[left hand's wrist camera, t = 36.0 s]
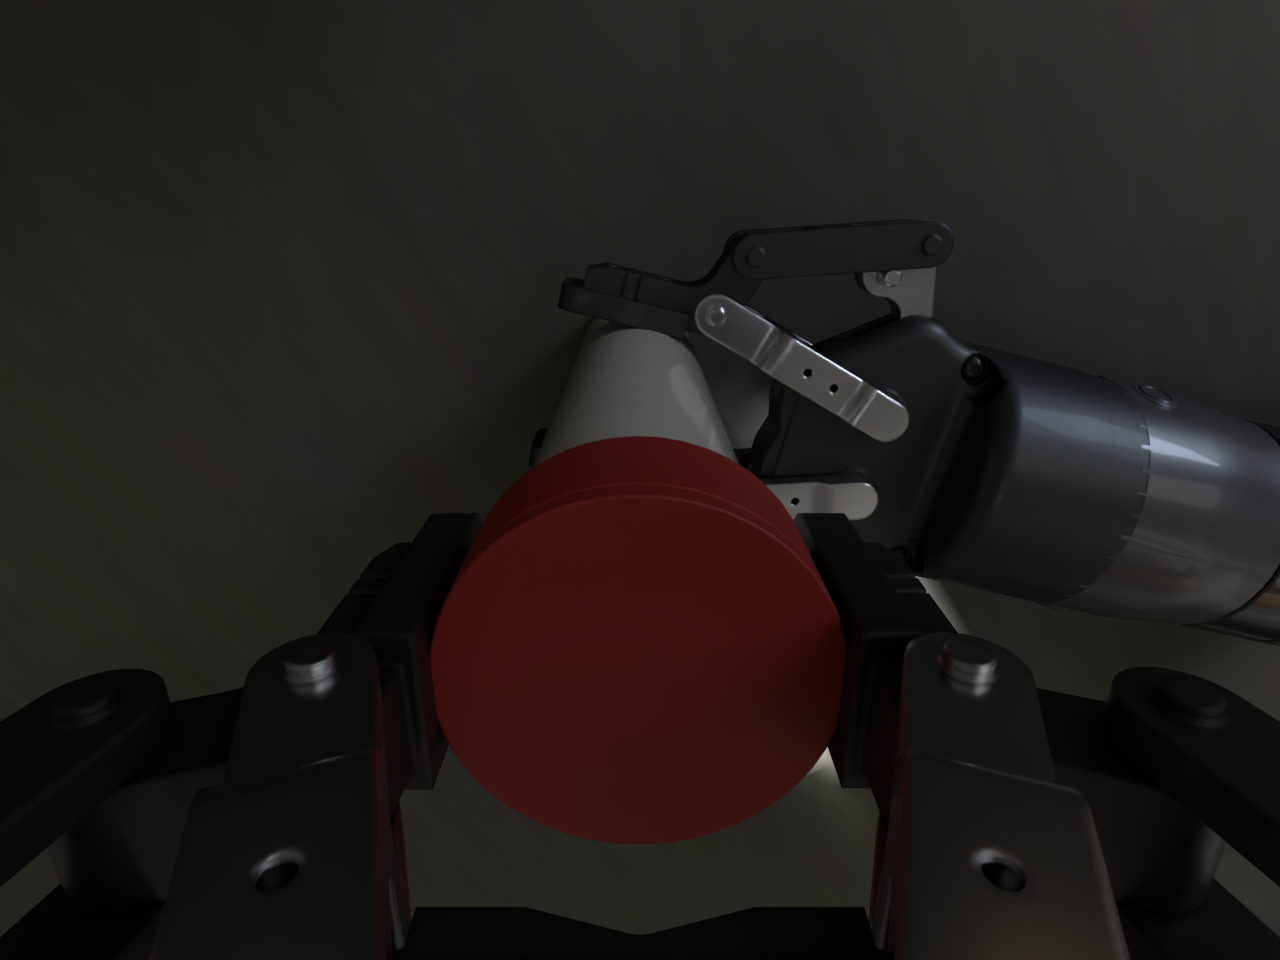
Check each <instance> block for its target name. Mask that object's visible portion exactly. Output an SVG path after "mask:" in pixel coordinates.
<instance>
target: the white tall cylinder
mask: <svg viewBox="0 0 1280 960" xmlns="http://www.w3.org/2000/svg"><path fill="white" fill-rule="evenodd" d="M629 436H648V437H663V438H668V439H674V440H680V441H685V442H688V443H692V444H695V445H698V446H701V447H705V448H708V449H710V450H712V451H714V452H716V453H719V454H721V455H723V456H725V457H727V458H729V459H731V460H733V461H734V462H736V463H737V464H739V463H738V461H737V458H736V456H735V453H734V450H733V448H732V445H731V443H730V440H729V437H728V435H727V432H726V430H725V427H724V424H723V422H722V419H721V417H720V414H719V411H718V409H717V406H716V404H715V401H714V398H713V396H712V393H711V391H710V388H709V385H708V383H707V380H706V378H705V375H704V372H703V370H702V367H701V365H700V362H699V359H698V357H697V354H696V352H695V349H694V346H693V344H692V341H691V339H690V336H689V333H688V331H686V332H685V336H684V339H683V338H678V337H674V336H670V335H666V334H662V333H659V332H655V331H651V330H645V329H641V328H637V327H632V326H628V325H624V324H620V323H616V322H612V321H607V320H603V319H599V318H595V317H594V318H593V319H592V320H591V322H590V323H589V325H588V327H587V329H586V332H585V334H584V337H583V339H582V342H581V344H580V347H579V350H578V352H577V355H576V357H575V360H574V363H573V365H572V368H571V370H570V373H569V375H568V378H567V381H566V383H565V386H564V388H563V391H562V394H561V396H560V399H559V401H558V404H557V406H556V409H555V412H554V414H553V417H552V419H551V422H550V425H549V427H548V430H547V432H546V435H545V437H544V440H543V443H542V445H541V448H540V450H539V453H538V456H537V458H536V461H535V463H534V466H533V468H534V467H536V466H537V465H539V464H540V463H542V462H543V461H545V460H547V459H549V458H551V457H553V456H555V455H557V454H559V453H561V452H563V451H565V450H568V449H571V448H574V447H577V446H580V445H582V444H585V443H589V442H594V441H599V440H603V439H608V438H616V437H629ZM533 468H532V469H533Z"/></svg>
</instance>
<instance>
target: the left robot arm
mask: <svg viewBox="0 0 1280 960" xmlns="http://www.w3.org/2000/svg"><path fill="white" fill-rule="evenodd" d="M794 523H795V525H796V527H797V529H798V531H799V533H800V535H801V537H802V539H803V541H804V543H805V545H806V547H807V550H808V552H809V554H810V556H811V558H812V560H813V562H814V564H815V566H816V568H817V570H818V572H819V574H820V576H821V579H822V581H823V583H824V585H825V587H826V589H827V591H828V593H829V595H830V597H831V599H832V601H833V603H834V606H835V608H836V610H837V612H838V614H839V617H840V620H841V623H842V627H843V630H844V633H845V637H846V659H845V667H844V675H843V683H842V691H841V699H840V707H839V715H838V722H837V728H836V731H835V733H834V735H833V736H832V738H831V740H830V742H829V744H828V749H829V752H830V755H831V757H832V760H833V763H834V766H835V769H836V772H837V775H838V778H839V781H840V784H841V787H842V788H871V790H872V793H873V795H874V798H875V800H876V803H877V805H878V808H879V816H878V823H877V829H876V841H875V853H874V864H873V876H872V888H871V899H870V911H869V921H868V918H867V915H866V912H865V909H864V907H753V908H749V909H745V910H741V911H738V912H734V913H730V914H726V915H722V916H718V917H714V918H710V919H706V920H702V921H699V922H695V923H691V924H687V925H683V926H679V927H675V928H671V929H667V930H664V931H660V932H656V933H652V934H646V935H634V934H628V933H624V932H620V931H616V930H613V929H609V928H605V927H601V926H597V925H593V924H589V923H585V922H581V921H578V920H574V919H570V918H566V917H562V916H558V915H554V914H550V913H546V912H542V911H539V910H535V909H531V908H527V907H416V909H415V912H414V915H413V918H412V921H411V911H410V899H409V888H408V876H407V864H406V853H405V841H404V829H403V823H402V816H401V810H400V804H399V800H400V798H401V795H402V793H403V790H412V789H433V788H434V785H435V782H436V779H437V776H438V773H439V771H440V768H441V765H442V762H443V759H444V756H445V754H446V751H447V748H448V745H449V743H448V741H447V739H446V738H445V736H444V734H443V732H442V729H441V726H440V724H439V721H438V717H437V710H436V703H435V695H434V687H433V679H432V671H431V662H430V643H431V639H432V635H433V631H434V627H435V623H436V620H437V618H438V615H439V613H440V611H441V608H442V606H443V603H444V601H445V599H446V597H447V595H448V593H449V591H450V589H451V587H452V585H453V583H454V580H455V578H456V576H457V574H458V572H459V570H460V568H461V566H462V564H463V562H464V560H465V558H466V556H467V554H468V552H469V550H470V548H471V546H472V544H473V542H474V540H475V538H476V536H477V534H478V532H479V530H480V528H481V526H482V524H483V523H482V519H481V516H480V515H479V514H478V513H433V514H431V515H430V516H429V518H428V519H427V521H426V522H425V524H424V525H423V527H422V528H421V530H420V531H419V533H418V534H417V536H416V537H415V539H414V540H413V542H412V543H397V544H395V545H394V546H392V547H390V548H389V549H387V550H386V551H384V552H382V553H381V554H379V555H378V556H376V557H374V558H373V559H372V561H371V562H370V563H369V565H368V566H367V567H366V569H365V570H364V571H363V573H362V574H361V575H360V579H357V581H356V582H355V583H354V585H353V586H352V587H351V589H350V590H349V594H346V595H345V597H344V598H343V599H342V601H341V602H340V603H339V605H338V606H337V607H336V609H335V610H334V611H333V613H332V614H331V615H330V617H329V618H328V619H327V621H326V622H325V623H324V625H323V626H322V627H321V629H320V630H319V631H318V633H317V634H314V635H310V636H305V637H302V638H299V639H295V640H293V641H290V642H288V643H285V644H283V645H281V646H279V647H277V648H275V649H273V650H272V651H270V652H268V653H267V654H265V655H264V656H263V657H262V658H260V659H259V660H258V661H257V662H256V663H255V664H254V665H253V666H252V668H251V669H250V671H249V672H248V675H247V677H246V681H245V685H244V687H242V688H239V689H235V690H231V691H226V692H222V693H217V694H212V695H207V696H201V697H196V698H191V699H186V700H181V701H176V702H171V703H170V700H169V696H168V693H167V689H166V686H165V683H164V681H163V679H162V678H161V677H160V676H159V675H158V674H156V673H154V672H152V671H148V670H142V669H120V670H112V671H106V672H101V673H97V674H93V675H90V676H86V677H83V678H80V679H77V680H74V681H72V682H69V683H67V684H64V685H62V686H60V687H58V688H56V689H54V690H51V691H49V692H48V693H46V694H44V695H42V696H41V697H39V698H37V699H36V700H34V701H32V702H31V703H29V704H28V705H26V706H25V707H23V708H21V709H20V710H18V711H17V712H15V713H14V714H12V715H10V716H9V717H7V718H6V719H4V720H3V721H1V722H0V887H1V886H2V885H3V884H4V883H6V882H7V881H8V880H9V879H10V878H11V877H13V876H14V875H15V874H16V873H17V872H19V871H20V870H21V869H22V868H23V867H25V866H26V865H27V864H28V863H29V862H31V861H32V860H33V859H34V858H35V857H37V856H38V855H39V854H40V853H41V852H43V851H44V850H45V849H46V848H47V850H48V853H49V855H50V858H51V860H52V863H53V865H54V867H55V870H56V872H57V875H58V877H59V880H60V882H61V883H60V884H59V885H58V886H57V887H56V888H55V889H54V890H53V891H51V892H50V893H49V894H48V895H47V896H46V897H45V898H44V899H43V900H41V901H40V902H39V903H38V904H37V905H36V906H35V907H34V908H33V909H31V910H30V911H29V912H28V913H27V914H26V915H25V916H24V917H23V918H21V919H20V920H19V921H18V922H17V923H16V924H15V925H14V926H13V927H11V928H10V929H9V930H8V931H7V932H6V933H5V934H4V935H2V936H1V937H0V960H1280V937H1279V936H1277V935H1276V934H1275V933H1274V932H1273V931H1272V930H1271V929H1270V928H1269V927H1267V926H1266V925H1265V924H1264V923H1263V922H1262V921H1261V920H1260V919H1259V918H1257V917H1256V916H1255V915H1254V914H1253V913H1252V912H1251V911H1250V910H1249V909H1247V908H1246V907H1245V906H1244V905H1243V904H1242V903H1241V902H1240V901H1239V900H1237V899H1236V898H1235V897H1234V896H1233V895H1232V894H1231V893H1230V892H1229V891H1227V890H1226V889H1225V888H1224V887H1223V886H1222V885H1221V884H1220V883H1219V882H1217V881H1216V880H1215V879H1214V878H1213V876H1214V874H1215V871H1216V869H1217V866H1218V864H1219V861H1220V859H1221V856H1222V854H1223V851H1224V849H1225V846H1226V844H1227V843H1228V844H1229V845H1230V846H1231V847H1233V848H1234V849H1235V850H1236V851H1237V852H1239V853H1240V854H1241V855H1242V856H1243V857H1245V858H1246V859H1247V860H1248V861H1249V862H1251V863H1252V864H1253V865H1254V866H1255V867H1257V868H1258V869H1259V870H1260V871H1261V872H1263V873H1264V874H1265V875H1266V876H1267V877H1269V878H1270V879H1271V880H1272V881H1273V882H1274V883H1276V884H1277V885H1278V886H1279V887H1280V722H1279V721H1277V720H1276V719H1274V718H1273V717H1271V716H1270V715H1268V714H1266V713H1265V712H1263V711H1262V710H1260V709H1259V708H1257V707H1255V706H1254V705H1252V704H1251V703H1249V702H1248V701H1246V700H1244V699H1243V698H1241V697H1240V696H1238V695H1236V694H1234V693H1233V692H1231V691H1229V690H1227V689H1225V688H1223V687H1221V686H1219V685H1217V684H1215V683H1213V682H1210V681H1208V680H1205V679H1203V678H1200V677H1197V676H1194V675H1191V674H1187V673H1184V672H1180V671H1176V670H1171V669H1165V668H1157V667H1135V668H1130V669H1126V670H1123V671H1121V672H1119V673H1118V674H1117V675H1116V676H1115V677H1114V679H1113V681H1112V684H1111V688H1110V691H1109V695H1108V698H1107V702H1104V701H1099V700H1094V699H1089V698H1084V697H1079V696H1074V695H1068V694H1063V693H1058V692H1053V691H1048V690H1044V689H1040V688H1036V685H1035V681H1034V677H1033V675H1032V672H1031V671H1030V669H1029V668H1028V666H1027V665H1026V664H1025V663H1024V662H1023V661H1022V660H1021V659H1020V658H1018V657H1017V656H1016V655H1015V654H1013V653H1012V652H1010V651H1008V650H1007V649H1005V648H1003V647H1001V646H999V645H997V644H995V643H992V642H990V641H987V640H985V639H981V638H978V637H975V636H970V635H966V634H959V633H958V632H957V631H956V630H955V628H954V627H953V626H952V624H951V623H950V621H949V620H948V619H947V617H946V616H945V615H944V613H943V612H942V611H941V609H940V608H939V607H938V605H937V604H936V603H935V601H934V600H933V598H932V597H931V596H930V594H929V593H926V589H925V588H924V586H923V585H922V584H921V582H920V581H919V580H918V578H915V574H914V573H913V571H912V570H911V569H910V567H909V566H908V565H907V563H906V562H905V561H904V559H903V558H902V557H901V556H899V555H898V554H896V553H894V552H893V551H891V550H890V549H888V548H886V547H885V546H883V545H882V544H880V543H878V542H863V540H862V539H861V537H860V536H859V534H858V533H857V531H856V530H855V528H854V527H853V525H852V524H851V522H850V521H849V519H848V518H847V516H846V515H845V514H844V513H797V514H796V516H795V519H794Z"/></svg>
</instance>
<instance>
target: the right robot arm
mask: <svg viewBox="0 0 1280 960" xmlns="http://www.w3.org/2000/svg"><path fill="white" fill-rule="evenodd" d="M953 244H954V238H953V234H952V232H951V230H950V229H949V228H948V227H947V226H946V225H945V224H943V223H941V222H934V221H922V220H907V219H901V220H886V221H871V222H857V223H842V224H828V225H813V226H798V227H784V228H769V229H755V230H742V231H738V232H736V233H734V234H733V235H731V236H730V237H729V238H728V240H727V242H726V244H725V247H724V252H723V253H722V254H721V256H720V257H719V259H718V260H717V262H716V263H715V265H714V266H713V268H712V269H711V271H710V272H709V273H708V274H707V275H706V276H705V277H703V278H702V279H700V280H697V281H692V282H685V281H681V280H676V279H672V278H668V277H664V276H660V275H656V274H652V273H648V272H644V271H639V270H636V269H632V268H627V267H624V266H620V265H616V264H612V263H601V264H595V265H590V266H589V267H588V268H587V270H586V275H585V280H582V279H578V278H571V277H567V278H566V279H565V280H564V281H563V282H562V288H561V293H560V298H559V303H558V307H559V308H561V309H564V310H567V311H570V312H574V313H578V314H582V315H587V316H591V317H595V318H599V319H603V320H607V321H612V322H616V323H620V324H624V325H628V326H632V327H637V328H641V329H645V330H651V331H655V332H659V333H662V334H666V335H670V336H674V337H678V338H683V339H684V336H685V332H686V331H690V332H694V333H698V334H702V335H706V336H708V337H709V338H711V339H713V340H714V341H716V342H718V343H720V344H721V345H723V346H725V347H726V348H728V349H730V350H731V351H733V352H735V353H736V354H738V355H740V356H741V357H743V358H745V359H747V360H748V361H750V362H751V363H753V364H754V365H756V366H757V367H758V368H760V369H761V370H762V371H764V372H765V373H767V374H768V375H770V376H771V377H773V381H772V384H771V387H770V395H769V414H768V416H767V418H766V420H765V421H764V423H763V424H762V426H761V428H760V429H759V431H758V432H757V434H756V436H755V439H754V442H753V445H752V448H744V449H733V450H734V453H735V456H736V458H737V461H738V463H739V465H741V466H742V467H744V468H745V469H747V470H749V471H750V472H751V473H752V474H753V475H755V476H756V477H757V478H758V479H759V480H761V481H762V482H763V483H764V484H765V485H766V486H767V487H768V488H769V489H770V490H771V491H772V492H773V493H774V494H775V495H776V497H777V498H778V499H779V500H780V501H781V502H782V504H783V505H784V507H785V508H786V510H787V511H788V513H789V514H790V516H791V517H792V519H793V521H794V519H795V516H796V514H797V513H844V514H845V515H846V516H847V518H848V519H849V521H850V522H851V524H852V525H853V527H854V528H855V530H856V531H857V533H858V534H859V536H860V537H861V539H862V540H863V542H878V543H880V544H882V545H883V546H885V547H886V548H888V549H890V550H891V551H893V552H894V553H896V554H898V555H899V556H901V557H902V558H903V559H904V561H905V562H906V563H907V565H908V566H909V567H910V569H911V570H912V571H913V573H914V574H915V576H919V577H923V578H928V579H933V580H937V581H942V582H947V583H951V584H956V585H961V586H965V587H970V588H975V589H979V590H984V591H989V592H994V593H998V594H1002V595H1007V596H1011V597H1016V598H1021V599H1025V600H1030V601H1035V602H1036V603H1038V604H1040V605H1043V606H1046V607H1049V608H1053V609H1057V610H1071V609H1072V610H1077V611H1082V612H1086V613H1091V614H1096V615H1101V616H1107V617H1114V618H1120V619H1131V620H1148V621H1161V622H1168V623H1175V624H1180V625H1185V626H1189V627H1194V628H1199V629H1203V630H1208V631H1213V632H1217V633H1222V634H1227V635H1231V636H1236V637H1241V638H1245V639H1248V640H1252V641H1257V642H1262V643H1267V644H1272V645H1277V646H1280V428H1279V427H1275V426H1270V425H1266V424H1262V423H1258V422H1254V421H1250V420H1246V419H1241V418H1237V417H1234V416H1231V415H1229V414H1226V413H1223V412H1221V411H1219V410H1216V409H1214V408H1212V407H1210V406H1207V405H1205V404H1202V403H1200V402H1197V401H1195V400H1192V399H1189V398H1186V397H1183V396H1180V395H1176V394H1173V393H1169V392H1166V391H1162V390H1159V389H1157V388H1154V387H1151V386H1148V385H1137V384H1133V383H1129V382H1125V381H1121V380H1117V379H1113V378H1108V377H1104V376H1100V375H1097V374H1093V373H1089V372H1085V371H1081V370H1077V369H1073V368H1069V367H1064V366H1060V365H1056V364H1052V363H1048V362H1044V361H1040V360H1036V359H1032V358H1028V357H1024V356H1020V355H1016V354H1012V353H1008V352H1004V351H1000V350H996V349H992V348H988V347H984V346H980V345H976V344H971V343H967V342H964V341H961V340H959V339H958V338H956V337H955V336H954V335H953V334H952V333H951V332H950V331H949V330H948V329H947V327H946V326H945V325H944V324H943V323H941V322H940V321H938V320H937V319H934V318H932V314H933V302H934V290H935V278H936V267H937V266H939V265H941V264H942V263H943V262H944V261H946V260H947V258H948V257H949V256H950V254H951V252H952V249H953ZM850 273H855V280H856V283H857V285H858V286H859V287H860V288H861V289H862V290H863V291H865V292H867V293H870V294H872V295H875V296H878V297H885V298H886V299H887V301H888V302H889V304H890V307H891V314H888V315H886V316H883V317H881V318H878V319H876V320H873V321H871V322H868V323H866V324H863V325H861V326H858V327H856V328H853V329H851V330H848V331H846V332H843V333H841V334H838V335H836V336H833V337H831V338H828V339H826V340H823V341H821V342H818V343H816V344H812V343H810V342H809V341H807V340H806V339H804V338H802V337H801V336H799V335H797V334H796V333H794V332H792V331H791V330H789V329H788V328H786V327H784V326H783V325H781V324H779V323H778V322H776V321H774V320H773V319H771V318H769V317H767V316H765V315H763V314H762V313H760V312H758V311H757V310H755V309H753V308H752V307H750V306H749V305H747V302H748V301H749V299H750V298H751V297H752V295H753V294H754V292H755V291H756V289H757V288H758V286H759V285H760V284H761V282H762V281H763V279H775V278H790V277H805V276H820V275H835V274H850ZM547 430H548V428H542V429H539V430H538V431H537V433H536V436H535V438H534V440H533V443H532V448H531V453H530V459H529V465H530V466H531V467H532V468H533V466H534V463H535V461H536V458H537V456H538V453H539V450H540V448H541V445H542V443H543V440H544V437H545V435H546V432H547ZM750 466H752V467H751V468H749V467H750Z"/></svg>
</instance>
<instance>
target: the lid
mask: <svg viewBox="0 0 1280 960" xmlns="http://www.w3.org/2000/svg"><path fill="white" fill-rule="evenodd" d="M845 659H846V637H845V633H844V630H843V627H842V623H841V620H840V617H839V614H838V612H837V610H836V608H835V606H834V603H833V601H832V599H831V597H830V595H829V593H828V591H827V589H826V587H825V585H824V583H823V581H822V579H821V576H820V574H819V572H818V570H817V568H816V566H815V564H814V562H813V560H812V558H811V556H810V554H809V552H808V550H807V547H806V545H805V543H804V541H803V539H802V537H801V535H800V533H799V531H798V529H797V527H796V525H795V523H794V521H793V519H792V517H791V516H790V514H789V513H788V511H787V510H786V508H785V507H784V505H783V504H782V502H781V501H780V500H779V499H778V498H777V497H776V495H775V494H774V493H773V492H772V491H771V490H770V489H769V488H768V487H767V486H766V485H765V484H764V483H763V482H762V481H761V480H759V479H758V478H757V477H756V476H755V475H753V474H752V473H751V472H750V471H749V470H747V469H745V468H744V467H742V466H741V465H739V464H737V463H736V462H734V461H733V460H731V459H729V458H727V457H725V456H723V455H721V454H719V453H716V452H714V451H712V450H710V449H708V448H705V447H701V446H698V445H695V444H692V443H688V442H685V441H680V440H674V439H668V438H663V437H648V436H629V437H616V438H608V439H603V440H599V441H594V442H589V443H585V444H582V445H580V446H577V447H574V448H571V449H568V450H565V451H563V452H561V453H559V454H557V455H555V456H553V457H551V458H549V459H547V460H545V461H543V462H542V463H540V464H539V465H537V466H536V467H534V468H533V469H531V470H530V471H528V472H527V473H525V474H524V475H523V476H522V477H521V478H519V479H518V480H517V481H516V482H515V483H514V484H513V485H512V486H511V487H509V488H508V489H507V490H506V492H505V493H504V494H503V495H502V496H501V498H500V499H499V500H498V501H497V502H496V504H495V505H494V506H493V508H492V509H491V511H490V512H489V514H488V516H487V517H486V519H485V521H484V522H483V524H482V526H481V528H480V530H479V532H478V534H477V536H476V538H475V540H474V542H473V544H472V546H471V548H470V550H469V552H468V554H467V556H466V558H465V560H464V562H463V564H462V566H461V568H460V570H459V572H458V574H457V576H456V578H455V580H454V583H453V585H452V587H451V589H450V591H449V593H448V595H447V597H446V599H445V601H444V603H443V606H442V608H441V611H440V613H439V615H438V618H437V620H436V623H435V627H434V631H433V635H432V639H431V643H430V662H431V671H432V679H433V687H434V695H435V703H436V710H437V717H438V721H439V724H440V726H441V729H442V732H443V734H444V736H445V738H446V739H447V741H448V743H449V745H450V746H451V748H452V750H453V752H454V753H455V755H456V756H457V758H458V759H459V760H460V762H461V763H462V764H463V765H464V767H465V768H466V769H467V771H468V772H469V773H470V774H471V775H472V776H473V777H474V778H475V779H476V780H477V781H478V782H479V783H480V784H481V785H482V786H483V787H484V788H485V789H486V790H487V791H488V792H490V793H491V794H492V795H494V796H495V797H496V798H497V799H499V800H500V801H501V802H502V803H504V804H505V805H507V806H508V807H510V808H512V809H513V810H515V811H517V812H518V813H520V814H522V815H523V816H525V817H527V818H529V819H531V820H533V821H535V822H538V823H540V824H542V825H544V826H546V827H549V828H552V829H555V830H557V831H560V832H563V833H566V834H569V835H573V836H577V837H581V838H586V839H590V840H595V841H602V842H609V843H617V844H658V843H670V842H676V841H682V840H688V839H693V838H697V837H701V836H704V835H708V834H712V833H715V832H718V831H721V830H723V829H726V828H728V827H731V826H734V825H736V824H739V823H741V822H742V821H744V820H746V819H748V818H750V817H752V816H754V815H756V814H758V813H760V812H761V811H763V810H764V809H766V808H768V807H769V806H771V805H772V804H774V803H775V802H777V801H778V800H779V799H781V798H782V797H783V796H784V795H785V794H787V793H788V792H789V791H790V790H791V789H793V788H794V787H795V786H796V785H797V784H798V783H799V782H800V781H801V780H802V779H803V778H804V777H805V776H806V774H807V773H808V772H809V771H810V770H811V769H812V768H813V767H814V765H815V764H816V762H817V761H818V760H819V758H820V757H821V755H822V754H823V753H824V751H825V750H826V748H827V746H828V744H829V742H830V740H831V738H832V736H833V735H834V733H835V731H836V728H837V722H838V715H839V707H840V699H841V691H842V683H843V675H844V667H845Z"/></svg>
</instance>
